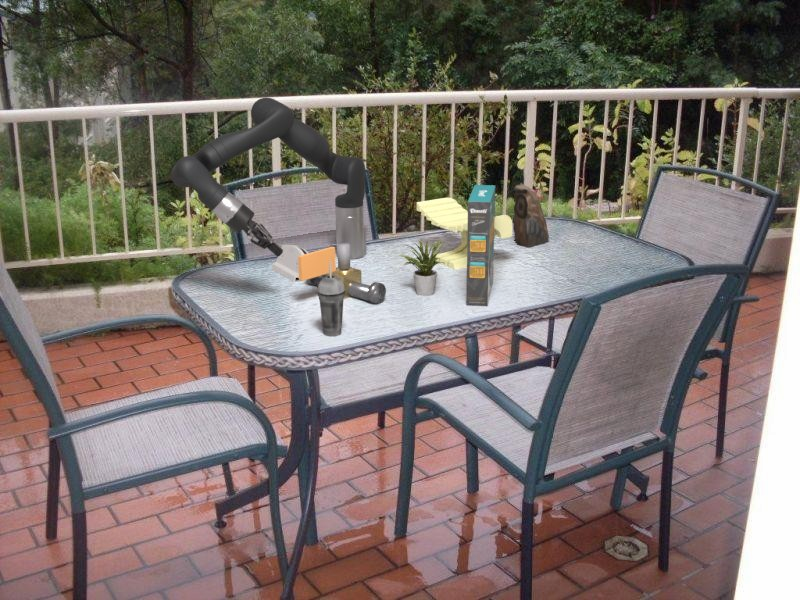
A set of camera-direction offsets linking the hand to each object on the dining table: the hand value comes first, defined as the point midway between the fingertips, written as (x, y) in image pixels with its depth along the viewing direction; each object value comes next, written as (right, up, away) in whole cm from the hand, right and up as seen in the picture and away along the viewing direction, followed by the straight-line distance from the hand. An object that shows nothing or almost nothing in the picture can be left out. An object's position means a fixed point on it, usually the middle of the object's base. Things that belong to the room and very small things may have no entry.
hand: (280, 253), depth 259 cm
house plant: (+41, -11, +15) cm, 45 cm away
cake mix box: (+57, -11, +13) cm, 59 cm away
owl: (+79, +7, +65) cm, 103 cm away
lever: (+12, -5, +6) cm, 14 cm away
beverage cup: (+16, -22, -17) cm, 32 cm away
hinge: (0, -5, +33) cm, 34 cm away
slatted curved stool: (+54, 0, +45) cm, 70 cm away
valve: (+17, -11, +14) cm, 25 cm away
